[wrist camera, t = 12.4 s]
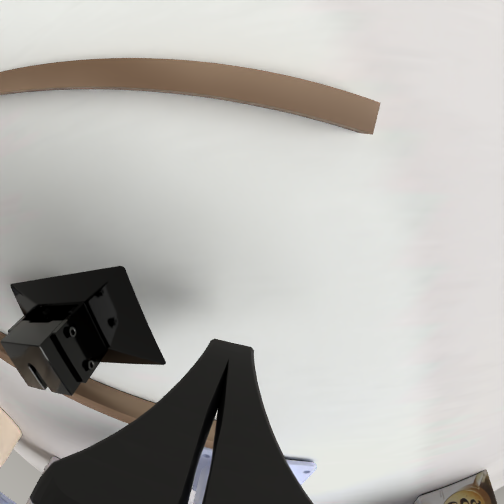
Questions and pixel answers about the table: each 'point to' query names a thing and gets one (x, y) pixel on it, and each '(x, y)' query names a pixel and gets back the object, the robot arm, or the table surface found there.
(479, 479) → the coffee box
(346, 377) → the table surface
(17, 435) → the water bottle
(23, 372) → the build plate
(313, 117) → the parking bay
